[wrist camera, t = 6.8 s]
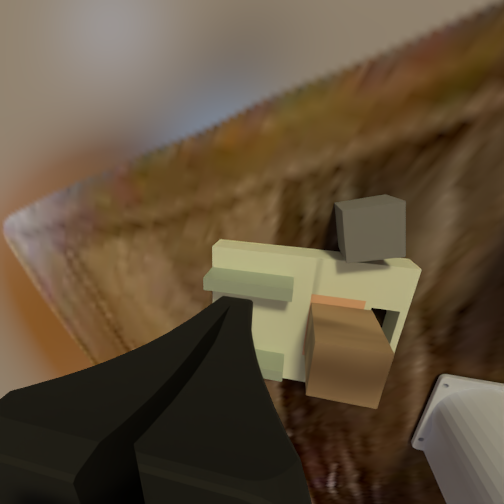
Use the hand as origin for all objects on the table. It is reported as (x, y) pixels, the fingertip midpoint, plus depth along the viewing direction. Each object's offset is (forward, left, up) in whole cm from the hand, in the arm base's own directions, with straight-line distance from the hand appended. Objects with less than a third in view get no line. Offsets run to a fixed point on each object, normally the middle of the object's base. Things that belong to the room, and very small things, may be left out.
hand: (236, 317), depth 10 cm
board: (-6, -4, -10) cm, 13 cm away
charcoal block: (+2, -7, -10) cm, 13 cm away
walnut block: (-6, -6, -8) cm, 12 cm away
